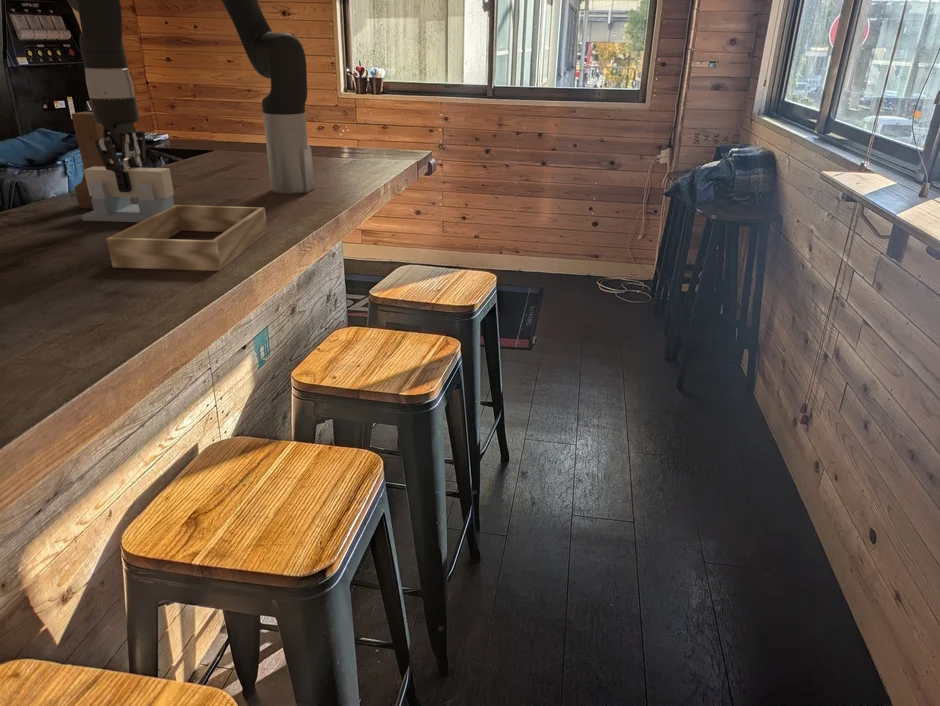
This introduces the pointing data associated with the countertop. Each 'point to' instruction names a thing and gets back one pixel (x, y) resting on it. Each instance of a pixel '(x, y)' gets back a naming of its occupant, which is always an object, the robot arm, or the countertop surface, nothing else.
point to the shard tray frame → (156, 251)
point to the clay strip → (133, 180)
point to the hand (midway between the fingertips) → (131, 188)
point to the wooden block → (87, 151)
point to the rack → (125, 204)
